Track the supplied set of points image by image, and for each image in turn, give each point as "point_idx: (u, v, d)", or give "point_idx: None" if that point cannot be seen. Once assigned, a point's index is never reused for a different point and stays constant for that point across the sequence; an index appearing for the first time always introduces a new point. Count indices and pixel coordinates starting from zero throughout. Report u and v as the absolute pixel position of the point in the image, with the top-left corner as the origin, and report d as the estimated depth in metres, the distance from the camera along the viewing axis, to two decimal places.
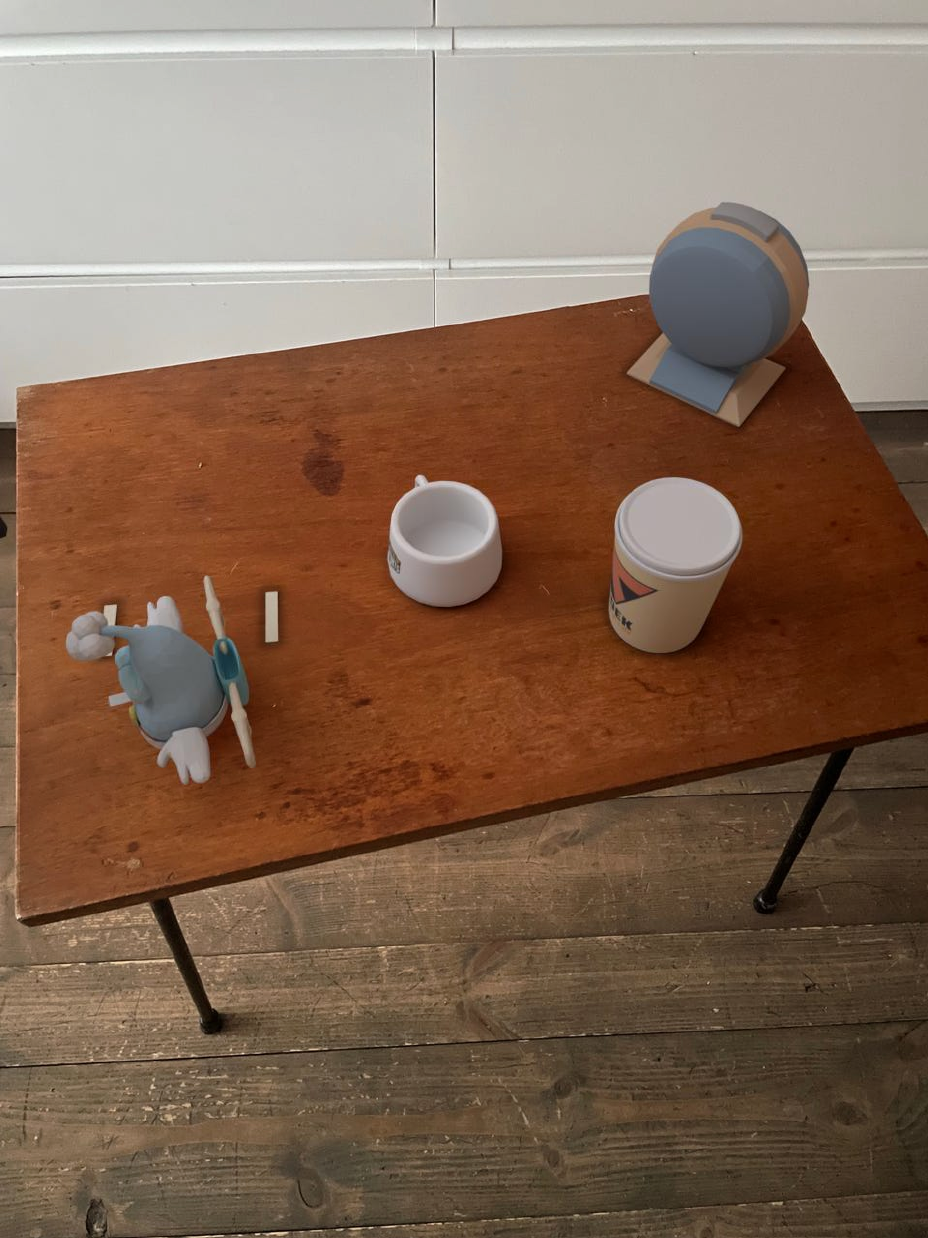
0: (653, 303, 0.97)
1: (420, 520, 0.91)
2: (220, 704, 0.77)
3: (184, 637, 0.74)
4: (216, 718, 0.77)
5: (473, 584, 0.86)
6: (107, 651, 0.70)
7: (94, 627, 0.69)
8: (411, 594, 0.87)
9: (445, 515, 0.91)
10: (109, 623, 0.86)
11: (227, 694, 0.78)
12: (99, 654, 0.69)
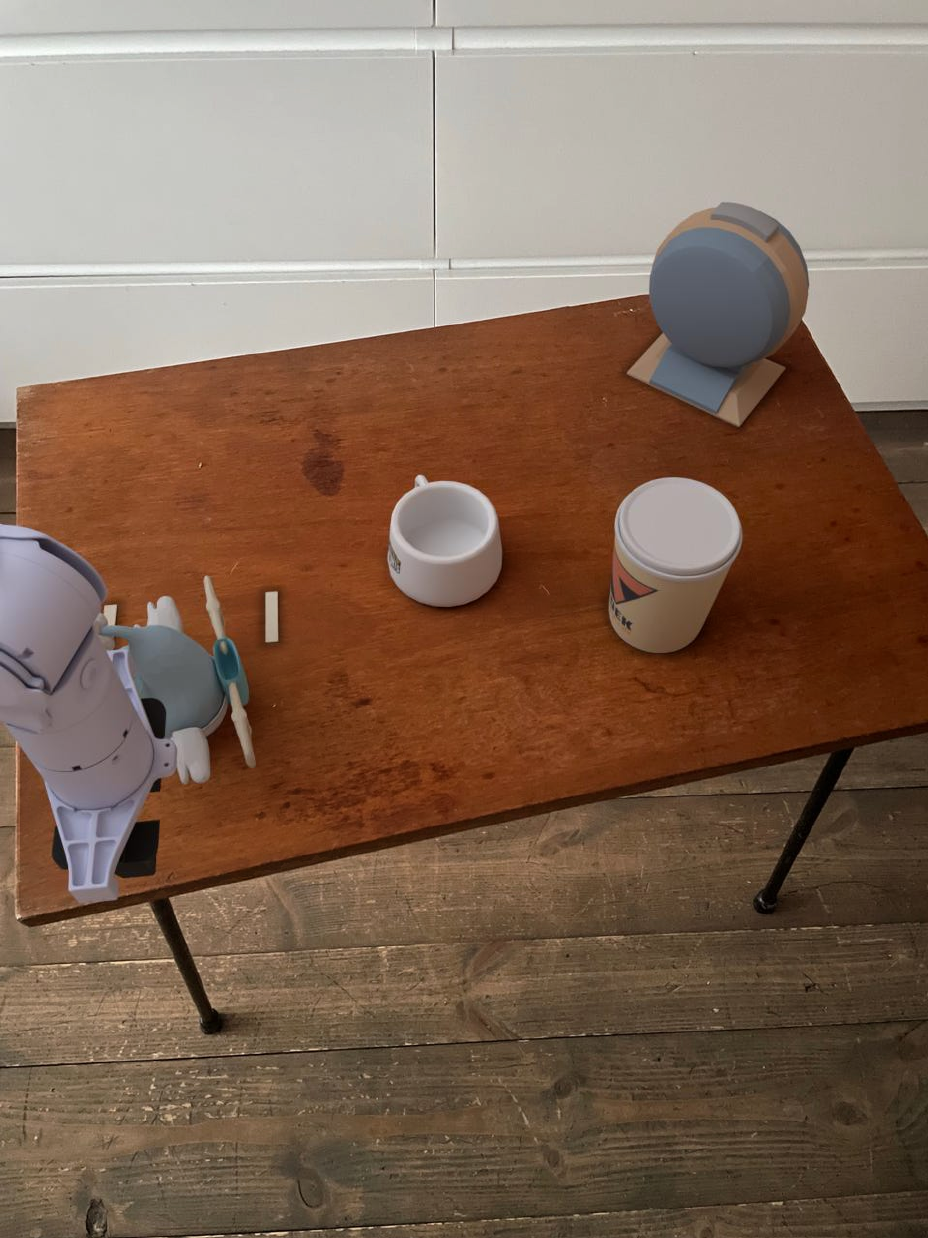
0: (653, 303, 0.97)
1: (420, 520, 0.91)
2: (220, 704, 0.77)
3: (184, 637, 0.74)
4: (216, 718, 0.77)
5: (473, 584, 0.86)
6: None
7: None
8: (411, 594, 0.87)
9: (445, 515, 0.91)
10: (109, 623, 0.86)
11: (227, 694, 0.78)
12: None
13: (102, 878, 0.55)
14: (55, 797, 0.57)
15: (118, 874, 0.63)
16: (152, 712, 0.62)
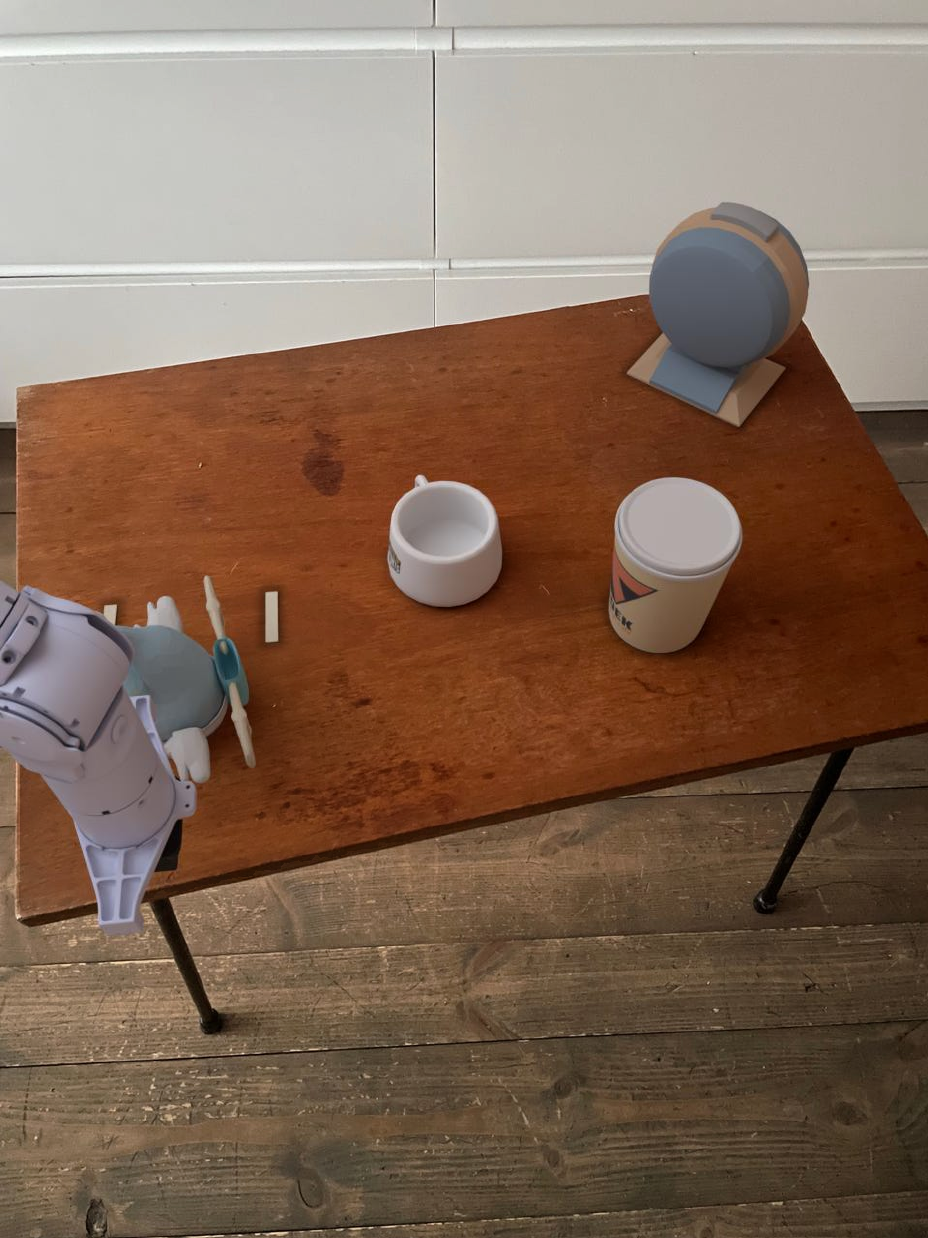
0: (653, 303, 0.97)
1: (420, 520, 0.91)
2: (220, 704, 0.77)
3: (184, 637, 0.74)
4: (216, 718, 0.77)
5: (473, 584, 0.86)
6: None
7: None
8: (411, 594, 0.87)
9: (445, 515, 0.91)
10: None
11: (227, 694, 0.78)
12: None
13: (129, 913, 0.59)
14: (84, 837, 0.61)
15: None
16: None
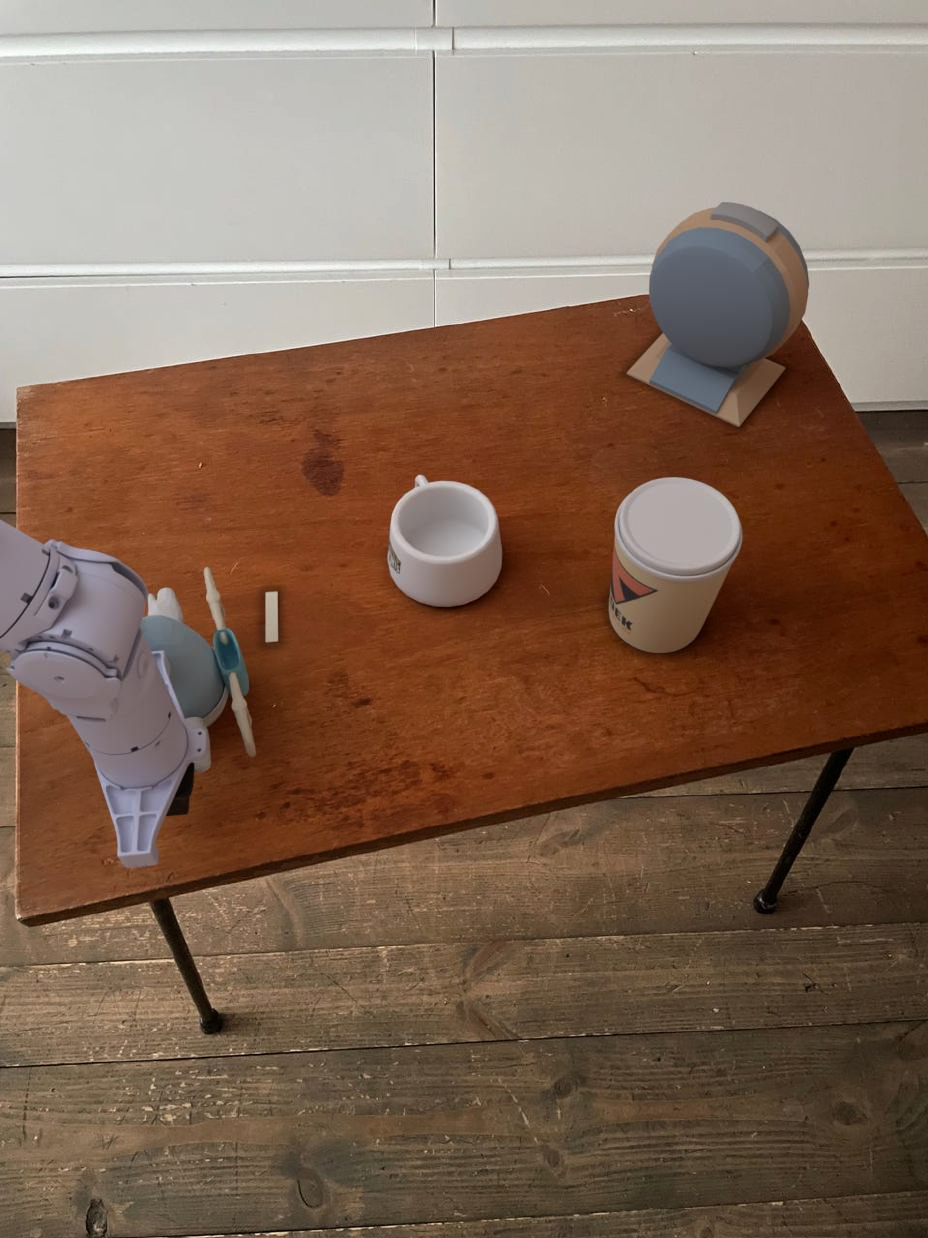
0: (653, 303, 0.97)
1: (420, 520, 0.91)
2: (220, 694, 0.78)
3: (184, 627, 0.75)
4: (216, 708, 0.78)
5: (473, 584, 0.86)
6: None
7: None
8: (411, 594, 0.87)
9: (445, 515, 0.91)
10: None
11: (227, 684, 0.78)
12: None
13: (145, 846, 0.64)
14: (104, 777, 0.66)
15: None
16: None
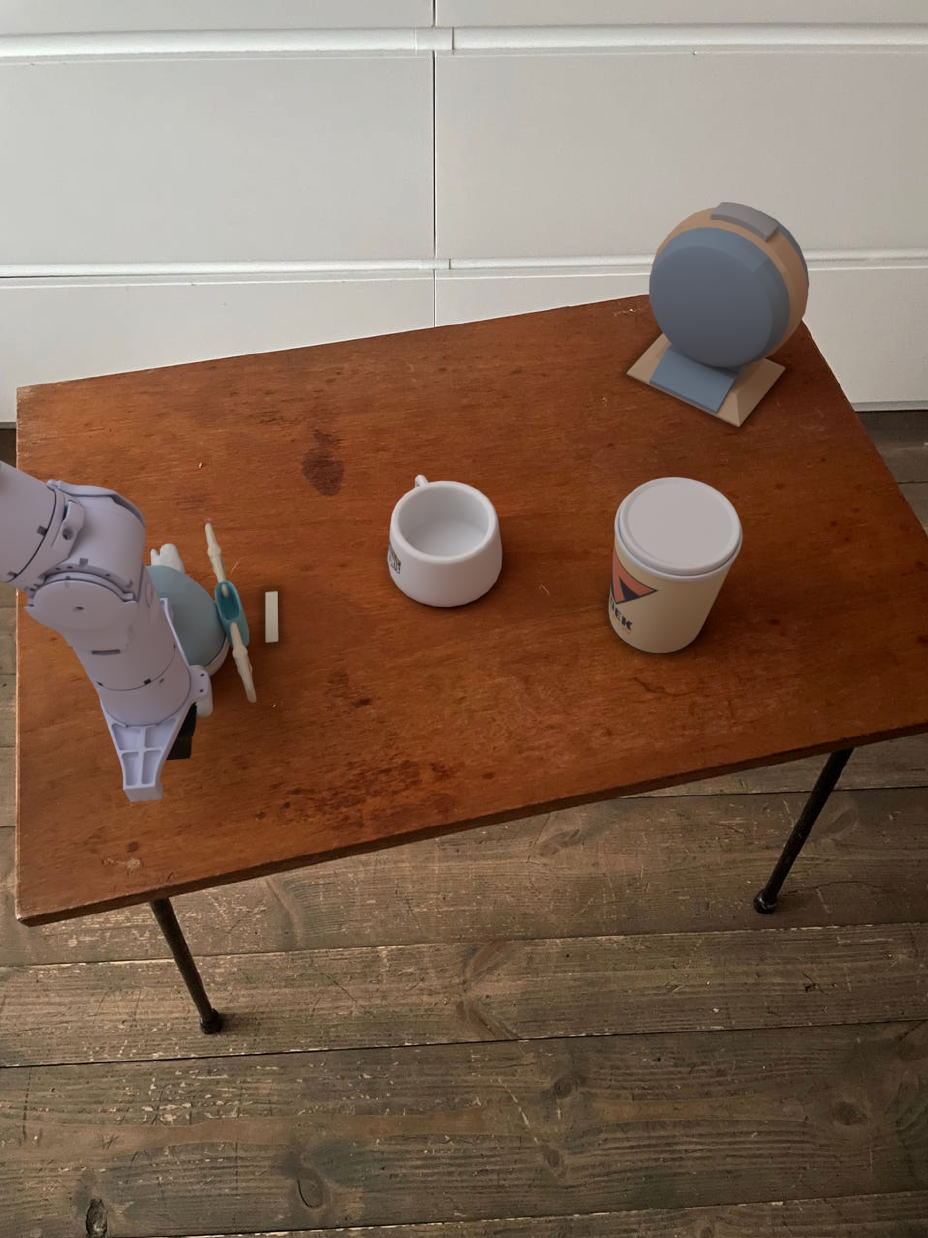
0: (653, 303, 0.97)
1: (420, 520, 0.91)
2: (221, 644, 0.80)
3: (187, 577, 0.77)
4: (218, 658, 0.80)
5: (473, 584, 0.86)
6: None
7: None
8: (411, 594, 0.87)
9: (445, 515, 0.91)
10: None
11: (228, 635, 0.80)
12: None
13: (150, 780, 0.66)
14: (110, 716, 0.68)
15: None
16: None
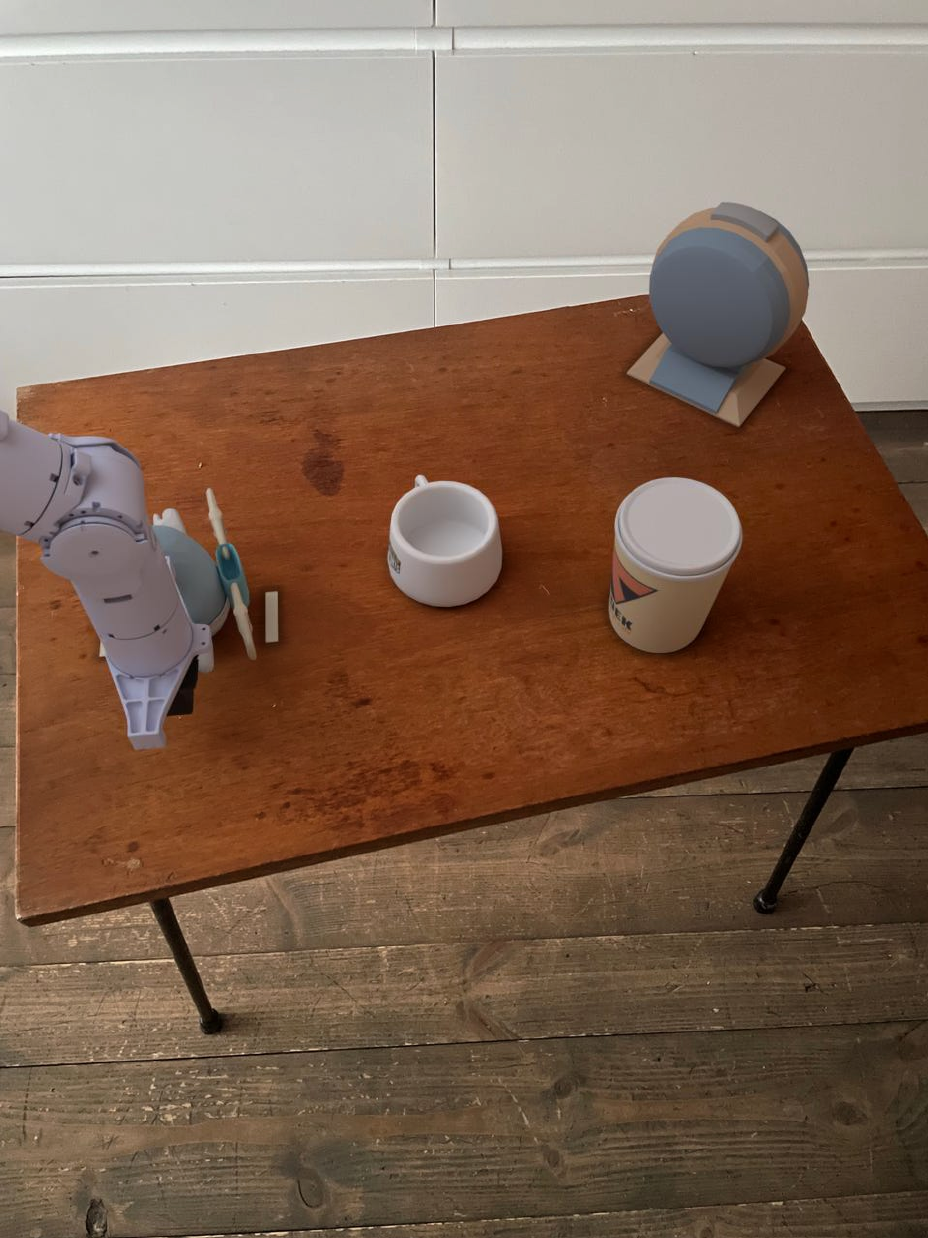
0: (653, 303, 0.97)
1: (420, 520, 0.91)
2: (222, 605, 0.82)
3: (189, 538, 0.79)
4: (219, 617, 0.82)
5: (473, 584, 0.86)
6: None
7: None
8: (411, 594, 0.87)
9: (445, 515, 0.91)
10: None
11: (229, 595, 0.83)
12: None
13: (153, 728, 0.69)
14: (114, 667, 0.71)
15: None
16: None
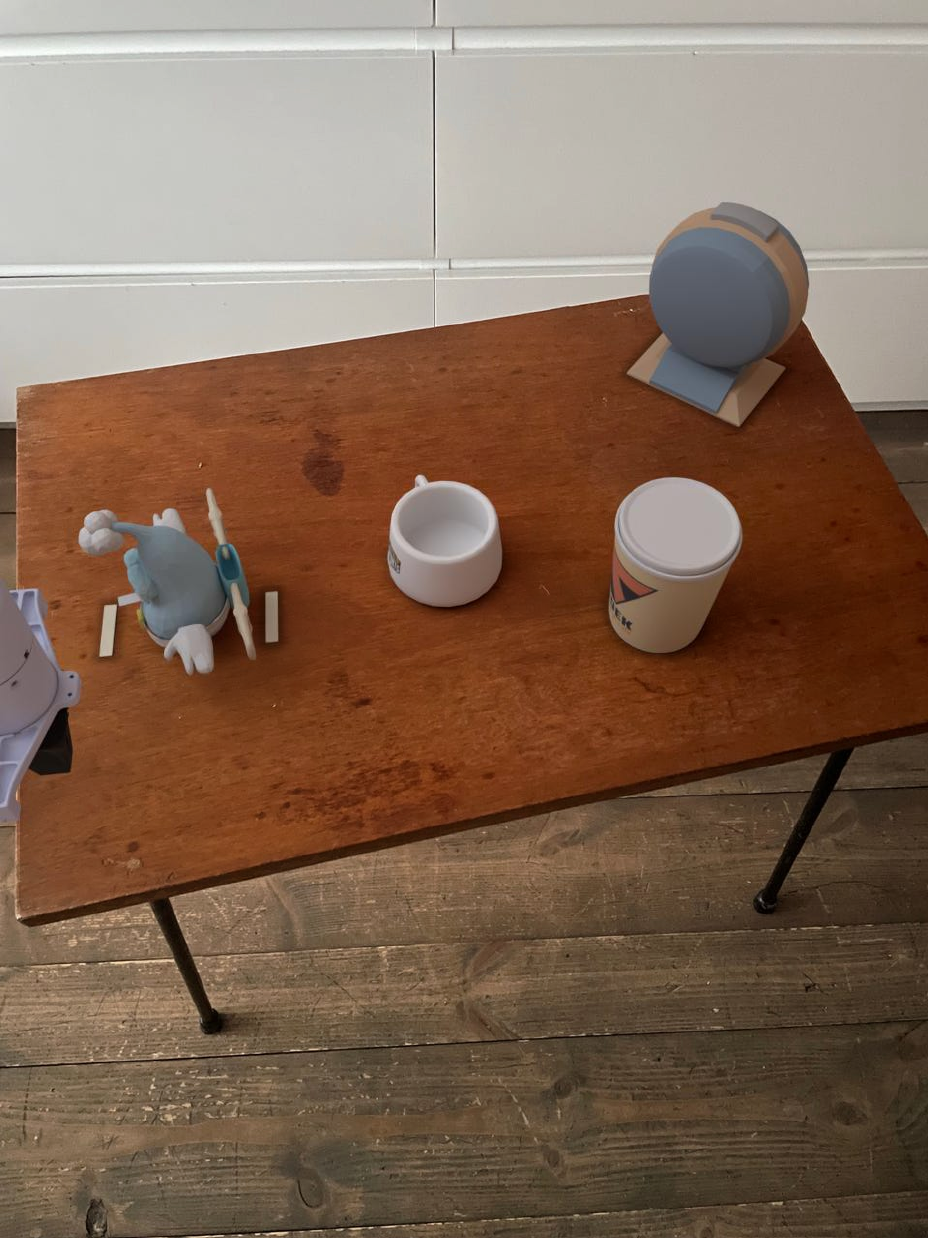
0: (653, 303, 0.97)
1: (420, 520, 0.91)
2: (222, 605, 0.82)
3: (188, 538, 0.79)
4: (219, 617, 0.82)
5: (473, 584, 0.86)
6: (117, 546, 0.75)
7: (105, 522, 0.74)
8: (411, 594, 0.87)
9: (445, 515, 0.91)
10: (109, 623, 0.86)
11: (229, 595, 0.83)
12: (110, 547, 0.74)
13: (3, 799, 0.57)
14: None
15: (35, 770, 0.67)
16: None
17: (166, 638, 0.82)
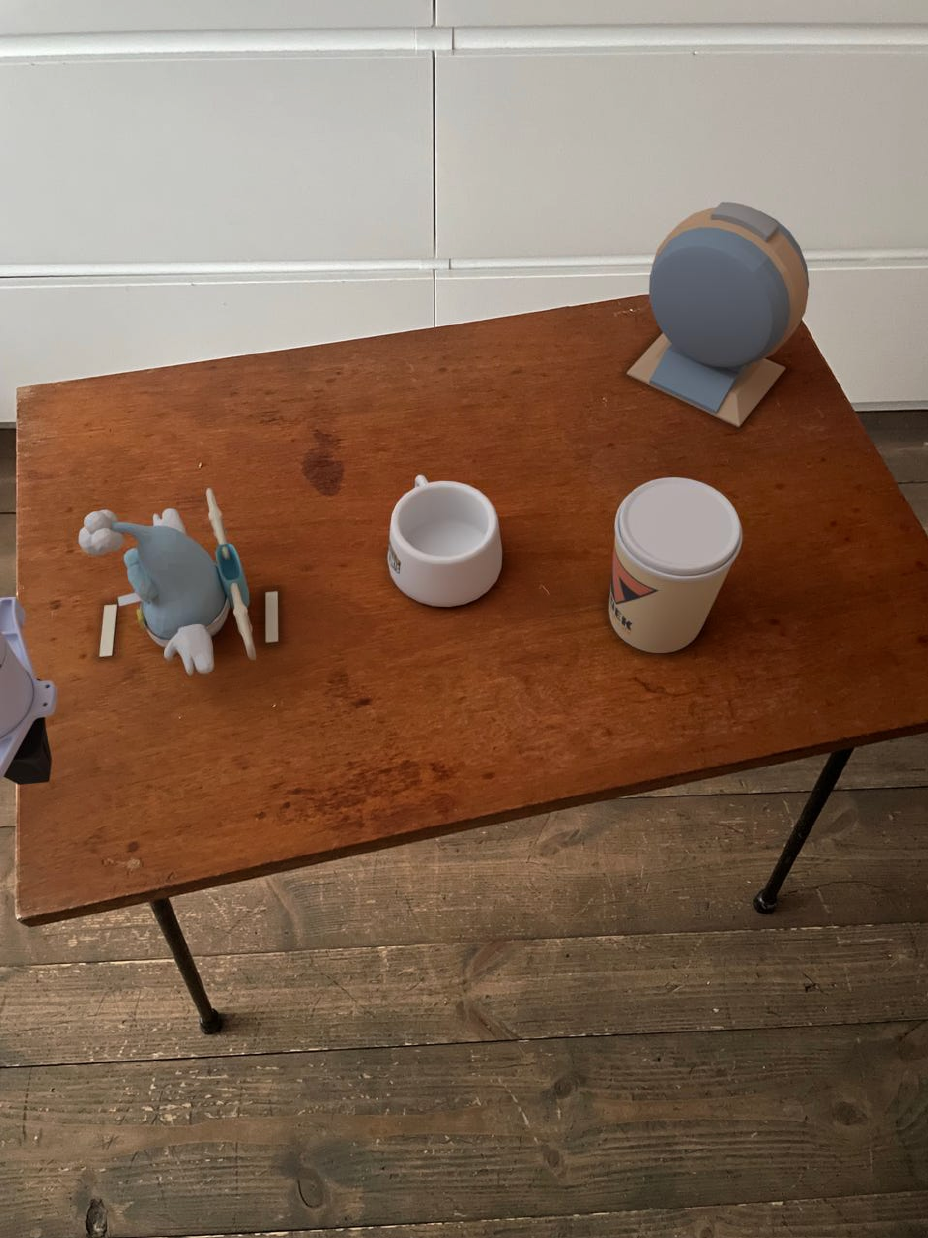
0: (653, 303, 0.97)
1: (420, 520, 0.91)
2: (222, 605, 0.82)
3: (188, 538, 0.79)
4: (219, 617, 0.82)
5: (473, 584, 0.86)
6: (117, 546, 0.75)
7: (105, 522, 0.74)
8: (411, 594, 0.87)
9: (445, 515, 0.91)
10: (109, 623, 0.86)
11: (229, 595, 0.83)
12: (110, 547, 0.74)
13: None
14: None
15: (13, 780, 0.66)
16: None
17: (166, 638, 0.82)
